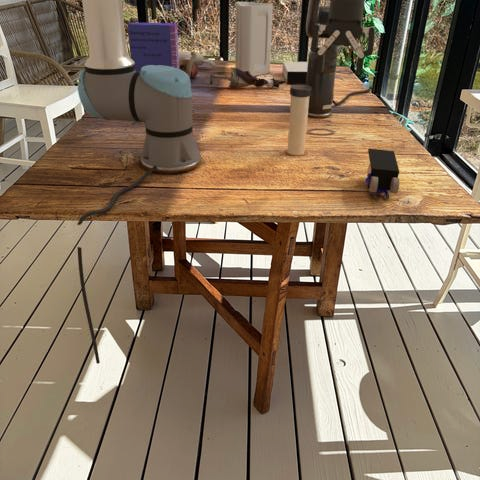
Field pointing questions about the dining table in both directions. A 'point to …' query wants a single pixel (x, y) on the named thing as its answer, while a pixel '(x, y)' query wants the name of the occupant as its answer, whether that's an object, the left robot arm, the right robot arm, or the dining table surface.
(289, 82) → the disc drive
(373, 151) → the figurine character
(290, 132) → the cream cylindrical bottle
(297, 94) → the lid
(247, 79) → the figurine
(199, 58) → the toy
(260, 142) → the dining table surface
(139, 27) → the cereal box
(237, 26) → the tall white carton
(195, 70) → the anatomical model
